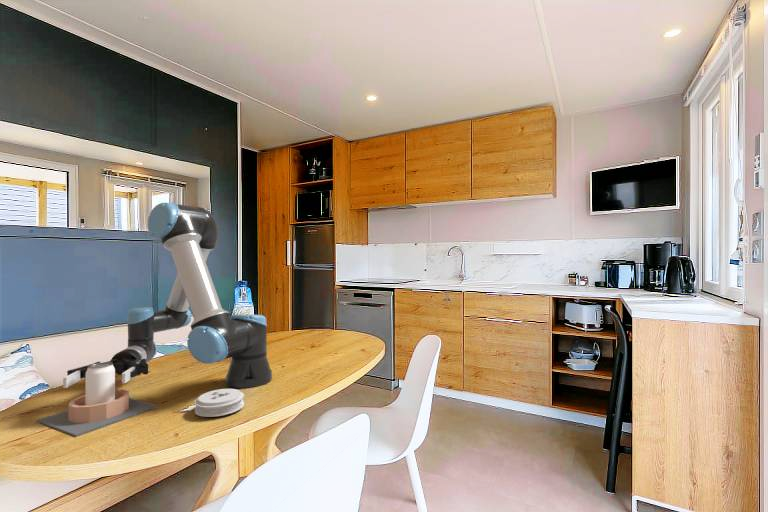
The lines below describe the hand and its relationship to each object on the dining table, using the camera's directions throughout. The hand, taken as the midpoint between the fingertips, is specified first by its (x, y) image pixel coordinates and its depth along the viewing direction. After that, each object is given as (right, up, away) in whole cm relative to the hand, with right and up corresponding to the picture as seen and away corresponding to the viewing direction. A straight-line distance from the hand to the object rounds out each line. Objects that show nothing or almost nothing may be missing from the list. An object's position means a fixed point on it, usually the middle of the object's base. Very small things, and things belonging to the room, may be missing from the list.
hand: (94, 380), depth 100 cm
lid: (+32, -10, +5) cm, 34 cm away
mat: (-1, -10, +3) cm, 10 cm away
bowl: (-1, -10, +3) cm, 10 cm away
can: (0, -9, +3) cm, 9 cm away
